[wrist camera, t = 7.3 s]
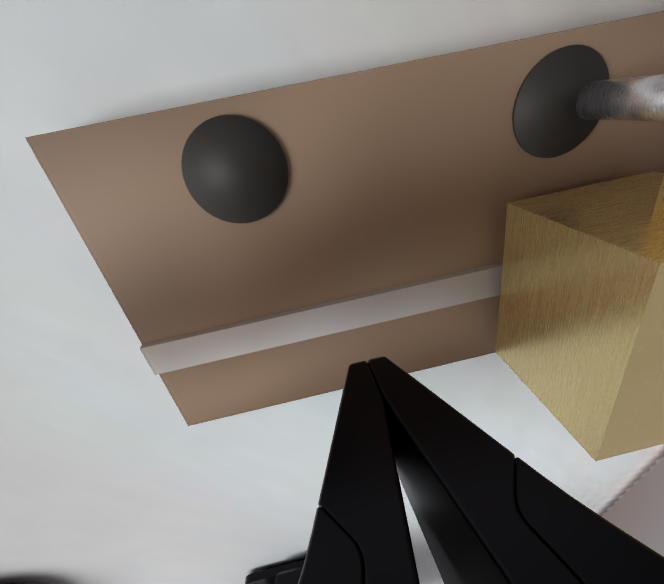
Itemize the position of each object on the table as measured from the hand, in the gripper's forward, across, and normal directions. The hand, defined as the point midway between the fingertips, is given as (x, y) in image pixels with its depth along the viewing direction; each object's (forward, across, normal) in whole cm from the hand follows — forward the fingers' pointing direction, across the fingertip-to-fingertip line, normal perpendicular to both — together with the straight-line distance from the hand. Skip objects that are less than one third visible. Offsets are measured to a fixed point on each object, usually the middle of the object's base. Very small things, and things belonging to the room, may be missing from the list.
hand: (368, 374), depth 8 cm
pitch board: (+4, -6, -2) cm, 8 cm away
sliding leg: (+2, -7, -1) cm, 7 cm away
